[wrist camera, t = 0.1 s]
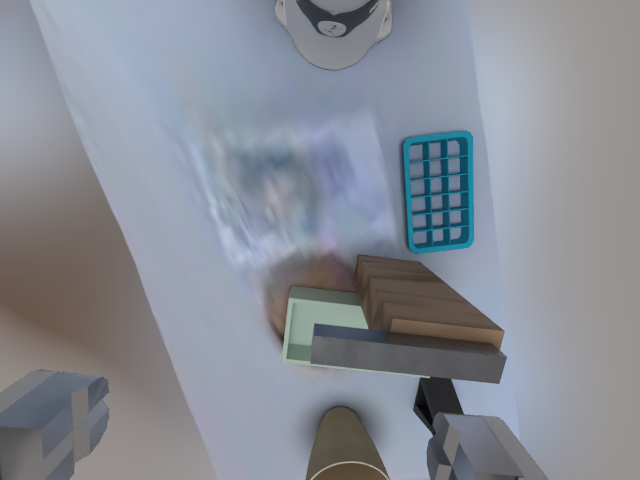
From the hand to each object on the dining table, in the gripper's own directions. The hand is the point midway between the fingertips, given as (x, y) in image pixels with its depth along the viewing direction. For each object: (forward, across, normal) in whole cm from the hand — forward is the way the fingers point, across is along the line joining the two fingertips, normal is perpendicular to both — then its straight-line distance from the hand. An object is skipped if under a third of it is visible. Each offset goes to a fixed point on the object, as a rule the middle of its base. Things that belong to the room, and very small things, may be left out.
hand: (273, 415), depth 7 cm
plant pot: (+48, -12, +44) cm, 67 cm away
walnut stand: (+48, -16, +10) cm, 52 cm away
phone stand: (+48, -30, +35) cm, 67 cm away
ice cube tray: (+49, -22, -6) cm, 54 cm away
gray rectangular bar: (+22, -12, +10) cm, 27 cm away
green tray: (+48, -12, +21) cm, 54 cm away
